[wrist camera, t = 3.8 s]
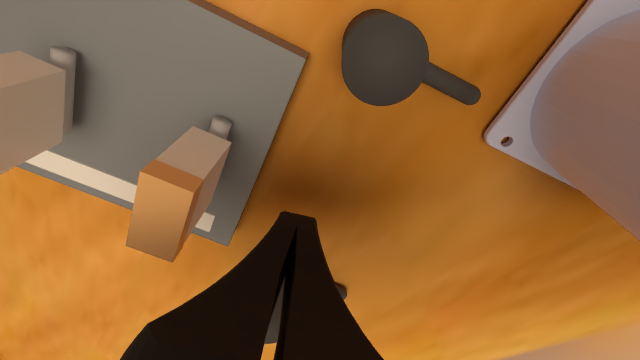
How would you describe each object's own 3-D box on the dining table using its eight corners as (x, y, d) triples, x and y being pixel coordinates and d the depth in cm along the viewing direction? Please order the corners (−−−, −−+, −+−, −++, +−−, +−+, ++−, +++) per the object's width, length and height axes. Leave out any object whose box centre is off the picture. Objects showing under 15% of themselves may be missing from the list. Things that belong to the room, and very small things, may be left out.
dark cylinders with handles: (507, 77, 14) (570, 109, 10) (337, 302, 22) (336, 369, 18) (360, -4, 13) (367, -2, 9) (237, 265, 21) (213, 327, 17)
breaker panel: (309, 52, 14) (305, 59, 13) (235, 229, 19) (227, 247, 18) (-145, -175, 11) (-214, -198, 10) (-86, 104, 16) (-125, 114, 15)
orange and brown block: (91, 58, 13) (-41, 93, 9) (85, 133, 15) (-27, 194, 10) (49, 40, 13) (-110, 65, 8) (48, 118, 14) (-85, 174, 10)
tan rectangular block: (243, 126, 14) (195, 188, 10) (220, 188, 16) (171, 265, 11) (207, 110, 14) (141, 166, 9) (188, 175, 16) (125, 249, 11)
